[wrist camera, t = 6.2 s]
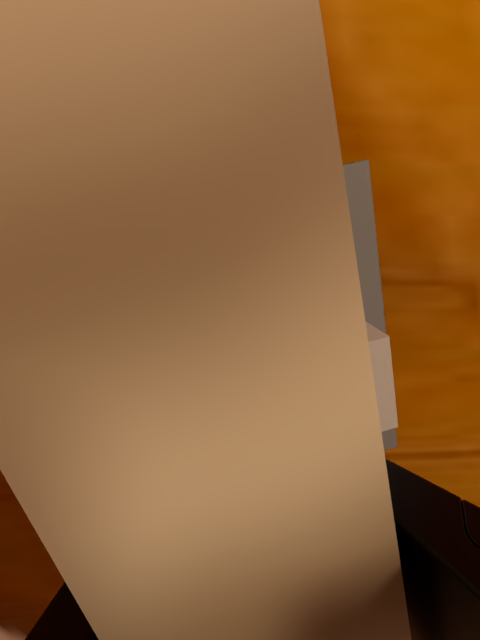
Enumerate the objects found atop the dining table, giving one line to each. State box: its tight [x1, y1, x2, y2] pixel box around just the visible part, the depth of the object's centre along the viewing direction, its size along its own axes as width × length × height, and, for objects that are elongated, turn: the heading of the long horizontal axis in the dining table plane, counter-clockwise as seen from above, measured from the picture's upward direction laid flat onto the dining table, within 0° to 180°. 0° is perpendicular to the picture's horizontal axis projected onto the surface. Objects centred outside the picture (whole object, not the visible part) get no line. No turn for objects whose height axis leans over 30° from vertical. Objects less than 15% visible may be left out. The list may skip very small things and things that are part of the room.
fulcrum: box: [343, 159, 398, 451], centre depth 13 cm, size 12×14×5 cm
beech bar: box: [0, 0, 411, 640], centre depth 8 cm, size 20×4×5 cm, turn 14°
